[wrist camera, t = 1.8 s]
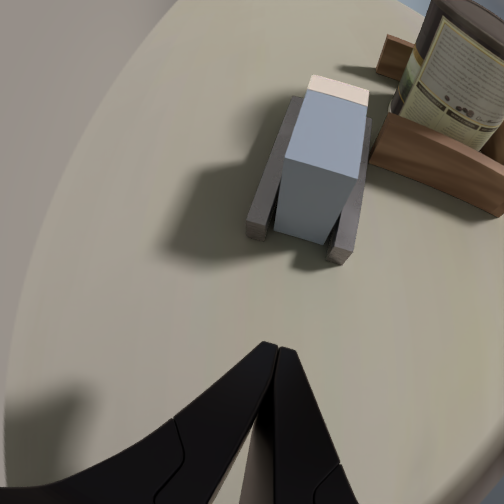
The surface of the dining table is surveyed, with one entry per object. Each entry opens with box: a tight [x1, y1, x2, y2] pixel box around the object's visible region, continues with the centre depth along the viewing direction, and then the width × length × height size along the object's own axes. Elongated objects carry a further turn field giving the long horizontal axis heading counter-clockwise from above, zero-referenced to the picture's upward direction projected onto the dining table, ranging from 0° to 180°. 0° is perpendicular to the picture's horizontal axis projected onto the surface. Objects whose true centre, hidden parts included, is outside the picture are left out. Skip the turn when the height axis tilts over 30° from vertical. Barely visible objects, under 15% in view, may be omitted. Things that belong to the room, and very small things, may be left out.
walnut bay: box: [368, 34, 504, 218], centre depth 23 cm, size 15×14×5 cm
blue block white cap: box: [274, 74, 369, 245], centre depth 18 cm, size 7×4×8 cm, turn 162°
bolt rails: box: [246, 96, 372, 265], centre depth 22 cm, size 12×7×2 cm, turn 162°
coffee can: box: [388, 0, 504, 152], centre depth 19 cm, size 10×10×14 cm
